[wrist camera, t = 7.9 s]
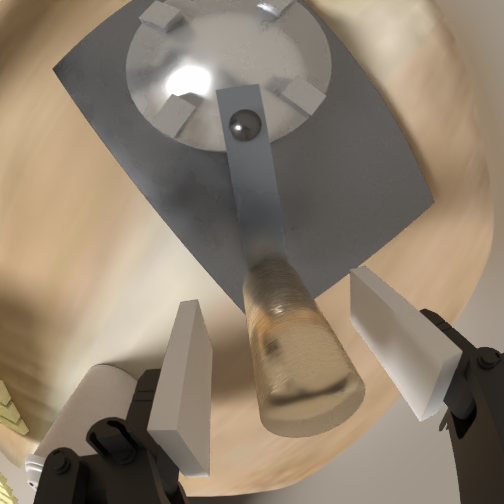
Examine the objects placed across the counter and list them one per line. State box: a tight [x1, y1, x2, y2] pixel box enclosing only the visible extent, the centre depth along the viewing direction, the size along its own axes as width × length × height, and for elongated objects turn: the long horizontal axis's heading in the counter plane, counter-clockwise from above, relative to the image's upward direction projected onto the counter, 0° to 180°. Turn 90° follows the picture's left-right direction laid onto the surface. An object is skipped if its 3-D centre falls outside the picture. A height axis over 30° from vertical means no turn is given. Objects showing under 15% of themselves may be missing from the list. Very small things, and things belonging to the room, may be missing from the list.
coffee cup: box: [25, 365, 137, 491], centre depth 16 cm, size 10×10×15 cm
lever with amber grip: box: [126, 0, 365, 438], centre depth 10 cm, size 20×11×12 cm, turn 10°
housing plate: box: [53, 0, 434, 315], centre depth 16 cm, size 26×17×2 cm, turn 36°
